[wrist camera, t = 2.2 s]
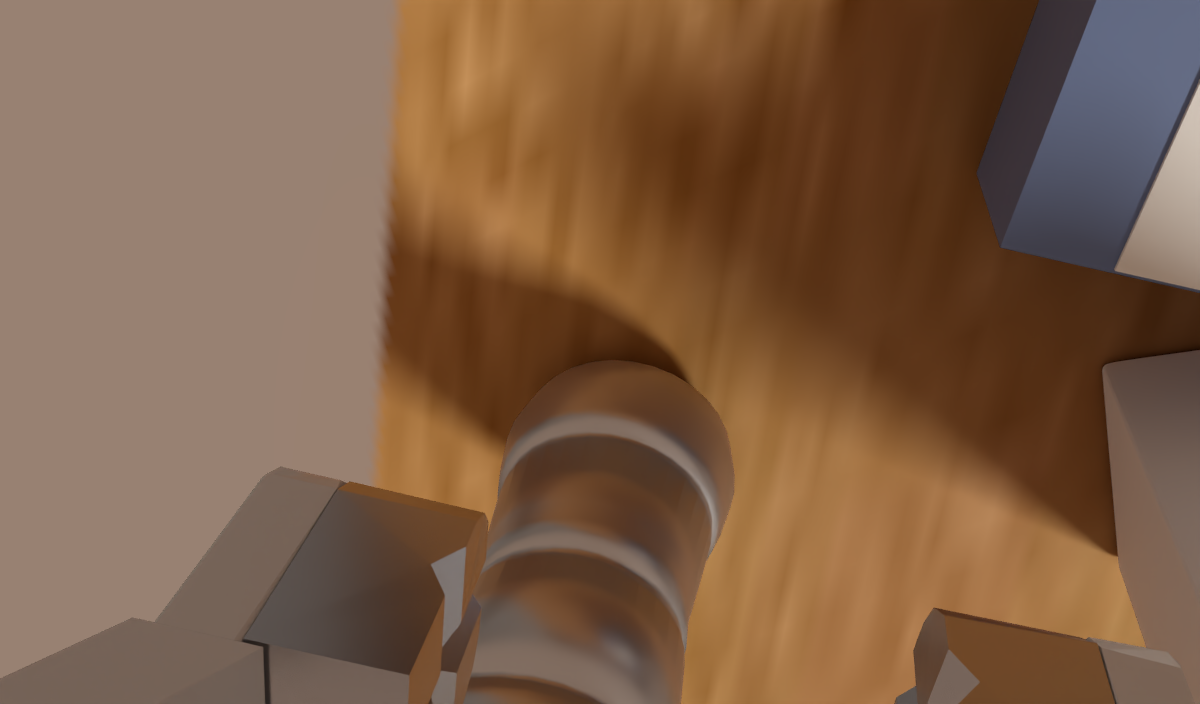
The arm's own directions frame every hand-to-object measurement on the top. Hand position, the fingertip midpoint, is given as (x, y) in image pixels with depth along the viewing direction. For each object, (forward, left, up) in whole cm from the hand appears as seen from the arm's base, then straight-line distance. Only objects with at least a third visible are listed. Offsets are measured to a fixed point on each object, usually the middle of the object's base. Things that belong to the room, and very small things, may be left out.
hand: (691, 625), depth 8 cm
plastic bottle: (-14, +2, -23) cm, 27 cm away
